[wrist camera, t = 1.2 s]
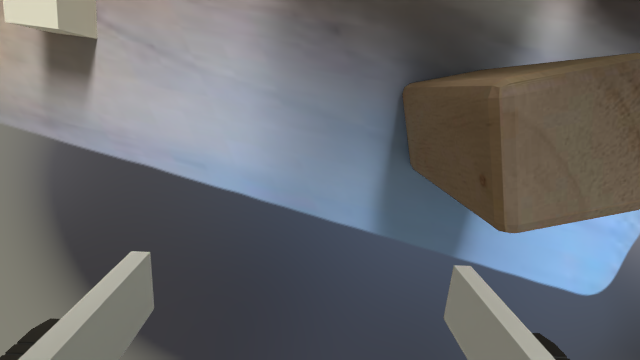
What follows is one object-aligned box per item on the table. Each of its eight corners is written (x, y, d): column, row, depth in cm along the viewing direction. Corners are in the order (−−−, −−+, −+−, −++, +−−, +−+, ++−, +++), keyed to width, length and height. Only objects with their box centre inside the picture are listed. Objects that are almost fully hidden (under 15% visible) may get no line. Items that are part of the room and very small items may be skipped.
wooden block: (408, 170, 41) (503, 242, 22) (398, 85, 38) (496, 81, 19) (490, 154, 41) (657, 212, 22) (486, 68, 38) (671, 47, 19)
